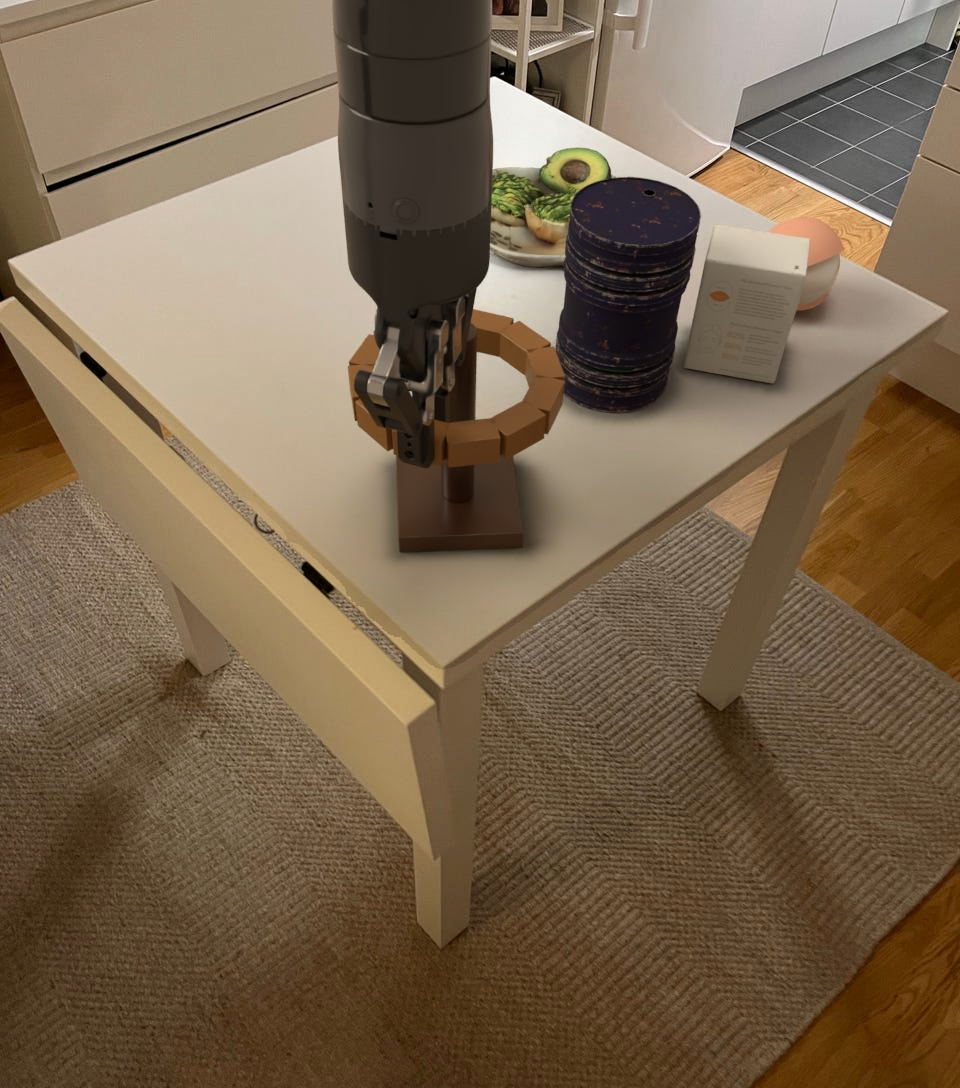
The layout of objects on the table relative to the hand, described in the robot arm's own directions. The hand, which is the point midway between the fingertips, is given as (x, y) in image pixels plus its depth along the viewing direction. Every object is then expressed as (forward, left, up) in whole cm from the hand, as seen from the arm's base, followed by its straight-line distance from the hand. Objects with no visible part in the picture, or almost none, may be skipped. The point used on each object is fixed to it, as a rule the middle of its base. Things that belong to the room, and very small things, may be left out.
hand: (423, 448), depth 63 cm
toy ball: (+35, +31, -11) cm, 47 cm away
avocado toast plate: (+15, +46, -11) cm, 49 cm away
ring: (+2, +6, 0) cm, 6 cm away
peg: (+3, +6, -11) cm, 12 cm away
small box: (+28, +23, -11) cm, 37 cm away
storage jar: (+17, +21, -11) cm, 28 cm away
